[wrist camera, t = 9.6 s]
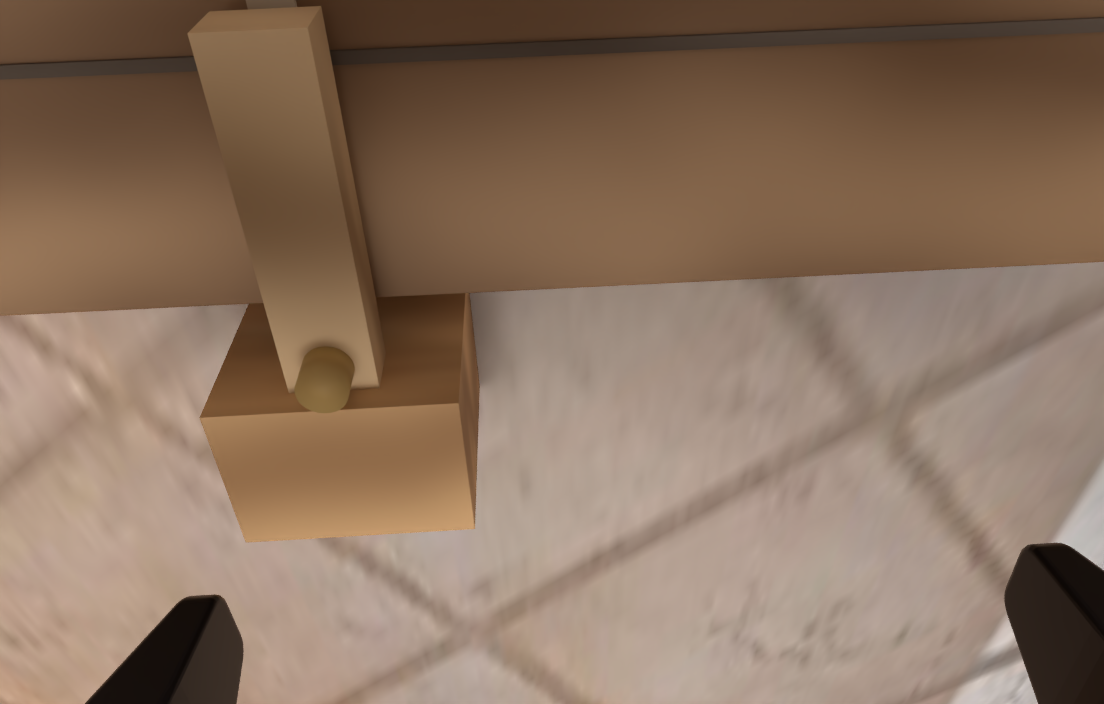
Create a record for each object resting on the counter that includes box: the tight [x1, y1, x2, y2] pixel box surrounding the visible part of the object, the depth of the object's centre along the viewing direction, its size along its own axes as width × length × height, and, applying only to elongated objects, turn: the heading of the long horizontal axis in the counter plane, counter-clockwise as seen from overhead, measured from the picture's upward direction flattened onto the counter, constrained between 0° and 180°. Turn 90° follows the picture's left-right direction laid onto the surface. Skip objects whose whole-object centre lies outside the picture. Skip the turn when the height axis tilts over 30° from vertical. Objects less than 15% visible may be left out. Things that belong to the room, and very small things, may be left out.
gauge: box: [187, 6, 480, 542], centre depth 17 cm, size 11×5×5 cm, turn 2°
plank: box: [0, 0, 1104, 316], centre depth 16 cm, size 10×26×3 cm, turn 92°
